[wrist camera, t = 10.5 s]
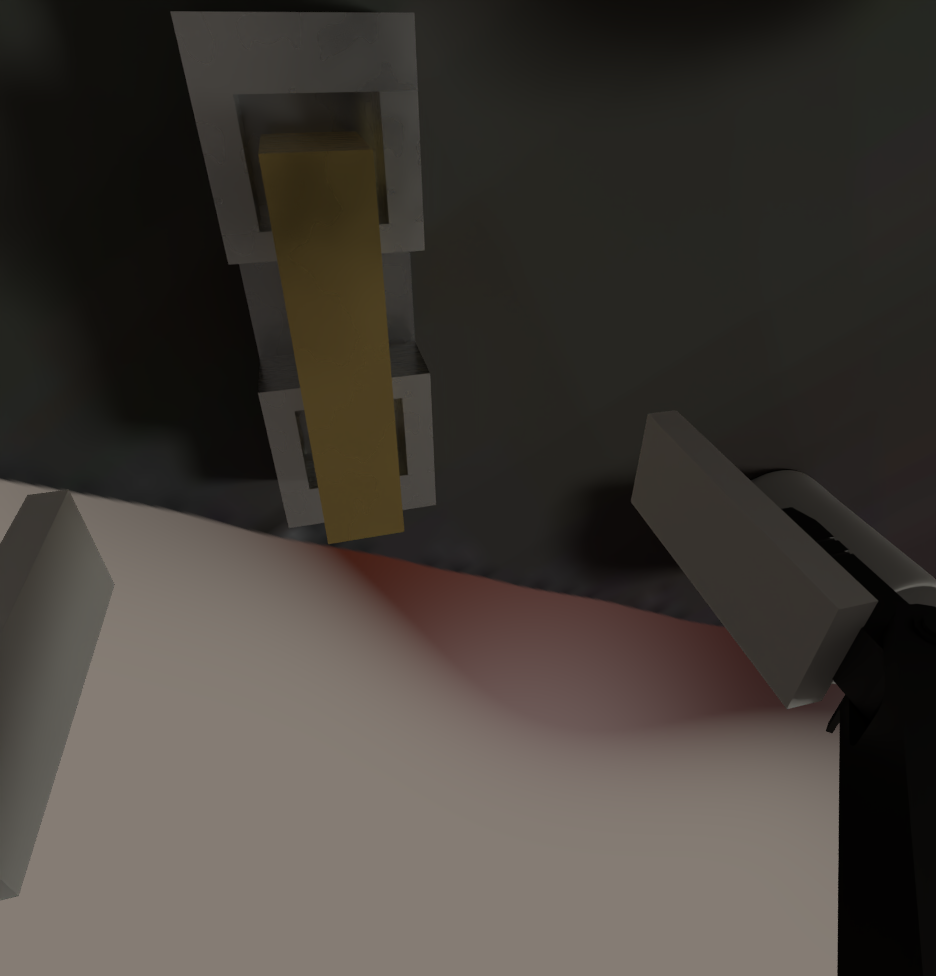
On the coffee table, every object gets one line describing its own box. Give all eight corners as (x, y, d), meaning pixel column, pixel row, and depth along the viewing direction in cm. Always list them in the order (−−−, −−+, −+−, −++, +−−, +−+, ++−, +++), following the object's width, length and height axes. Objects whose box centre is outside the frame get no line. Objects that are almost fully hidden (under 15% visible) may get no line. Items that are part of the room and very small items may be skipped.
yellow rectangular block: (262, 125, 21) (258, 153, 16) (348, 123, 22) (372, 149, 17) (318, 450, 29) (328, 543, 24) (380, 442, 30) (404, 531, 24)
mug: (836, 492, 44) (975, 603, 35) (751, 576, 47) (859, 696, 38) (738, 430, 38) (875, 544, 29) (648, 530, 41) (748, 660, 32)
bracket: (186, 16, 20) (170, 11, 17) (394, 17, 22) (414, 12, 19) (287, 480, 32) (288, 528, 28) (420, 460, 33) (435, 504, 30)
